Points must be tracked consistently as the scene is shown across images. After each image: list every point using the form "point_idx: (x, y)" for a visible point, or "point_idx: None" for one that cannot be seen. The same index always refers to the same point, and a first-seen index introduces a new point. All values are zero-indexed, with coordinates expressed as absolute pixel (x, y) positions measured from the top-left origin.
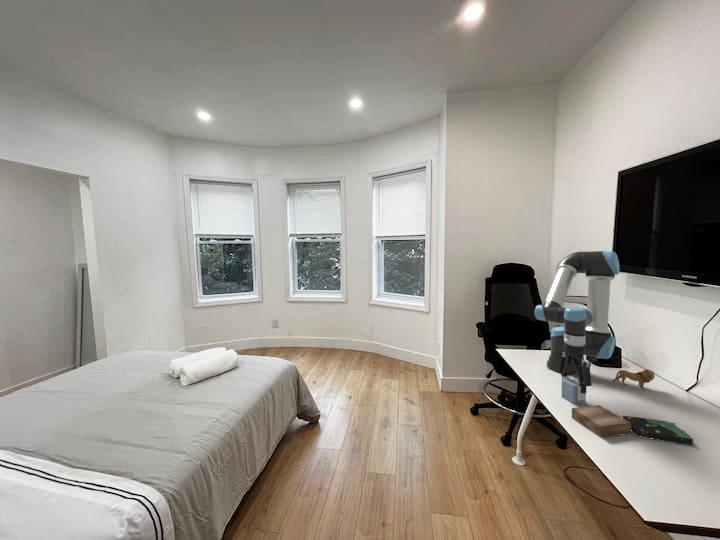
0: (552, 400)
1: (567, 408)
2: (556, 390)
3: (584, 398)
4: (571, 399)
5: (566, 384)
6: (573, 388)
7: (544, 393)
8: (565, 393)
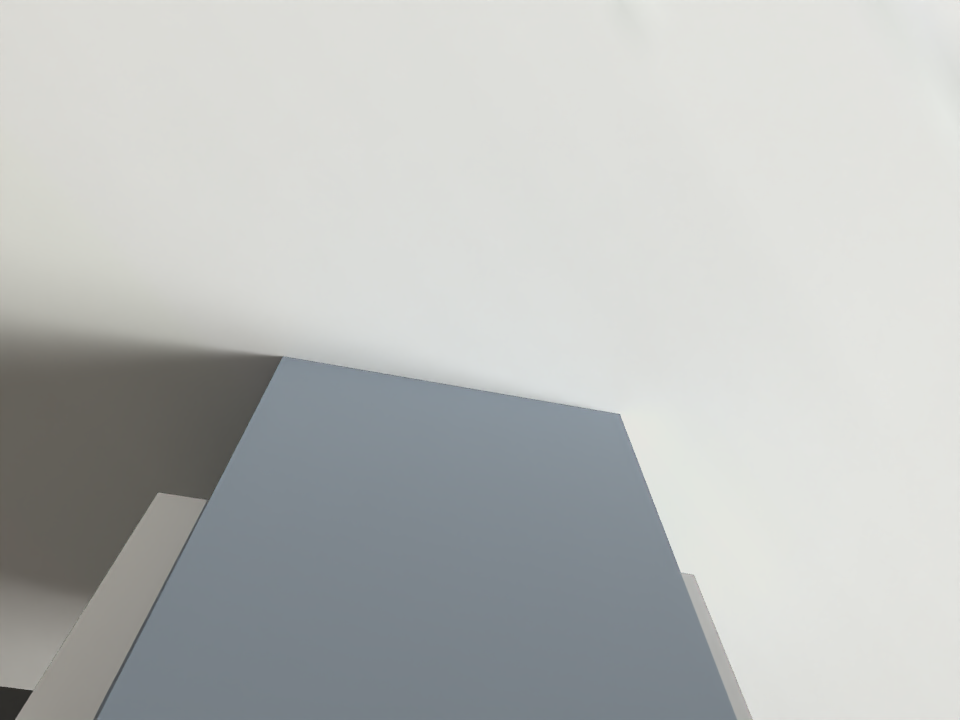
0: (597, 28)
1: (129, 8)
2: (867, 575)
3: None
4: (309, 404)
5: (495, 699)
6: (139, 649)
7: (948, 188)
8: (514, 475)
